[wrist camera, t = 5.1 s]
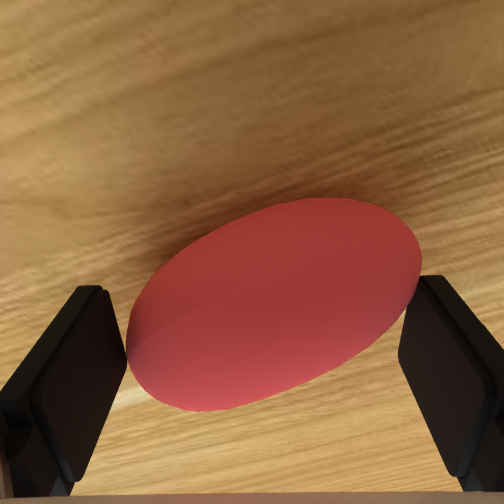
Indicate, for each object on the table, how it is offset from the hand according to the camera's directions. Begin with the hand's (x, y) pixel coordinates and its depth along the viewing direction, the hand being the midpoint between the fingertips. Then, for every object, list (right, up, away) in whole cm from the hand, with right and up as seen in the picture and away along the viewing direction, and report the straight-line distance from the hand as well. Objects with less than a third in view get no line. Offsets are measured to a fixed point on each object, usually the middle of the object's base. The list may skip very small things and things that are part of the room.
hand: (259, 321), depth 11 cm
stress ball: (0, +2, +2) cm, 3 cm away
